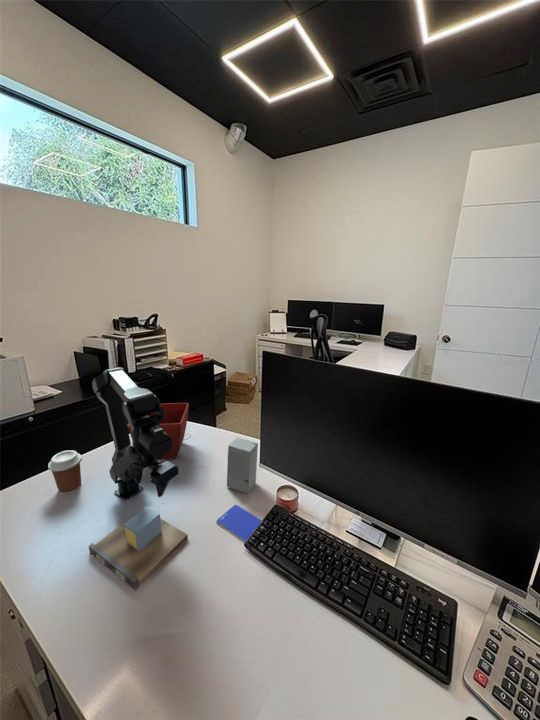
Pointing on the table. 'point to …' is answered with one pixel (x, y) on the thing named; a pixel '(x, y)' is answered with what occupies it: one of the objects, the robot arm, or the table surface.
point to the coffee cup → (66, 471)
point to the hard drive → (239, 522)
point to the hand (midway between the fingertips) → (149, 489)
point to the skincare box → (242, 465)
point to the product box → (142, 528)
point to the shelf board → (137, 553)
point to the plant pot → (173, 426)
